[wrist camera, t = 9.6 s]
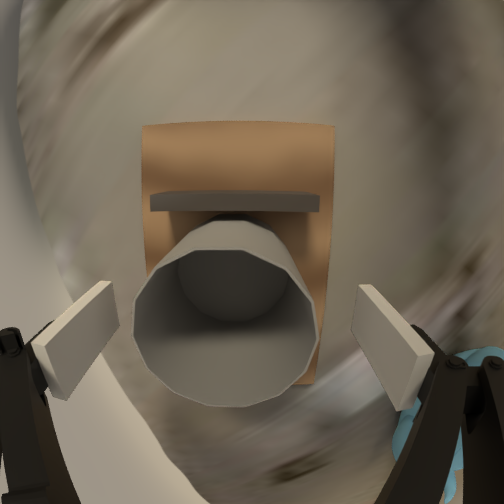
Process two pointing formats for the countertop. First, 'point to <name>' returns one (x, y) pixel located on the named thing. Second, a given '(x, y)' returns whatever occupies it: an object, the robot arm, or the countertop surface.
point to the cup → (226, 315)
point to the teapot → (407, 416)
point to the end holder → (243, 189)
